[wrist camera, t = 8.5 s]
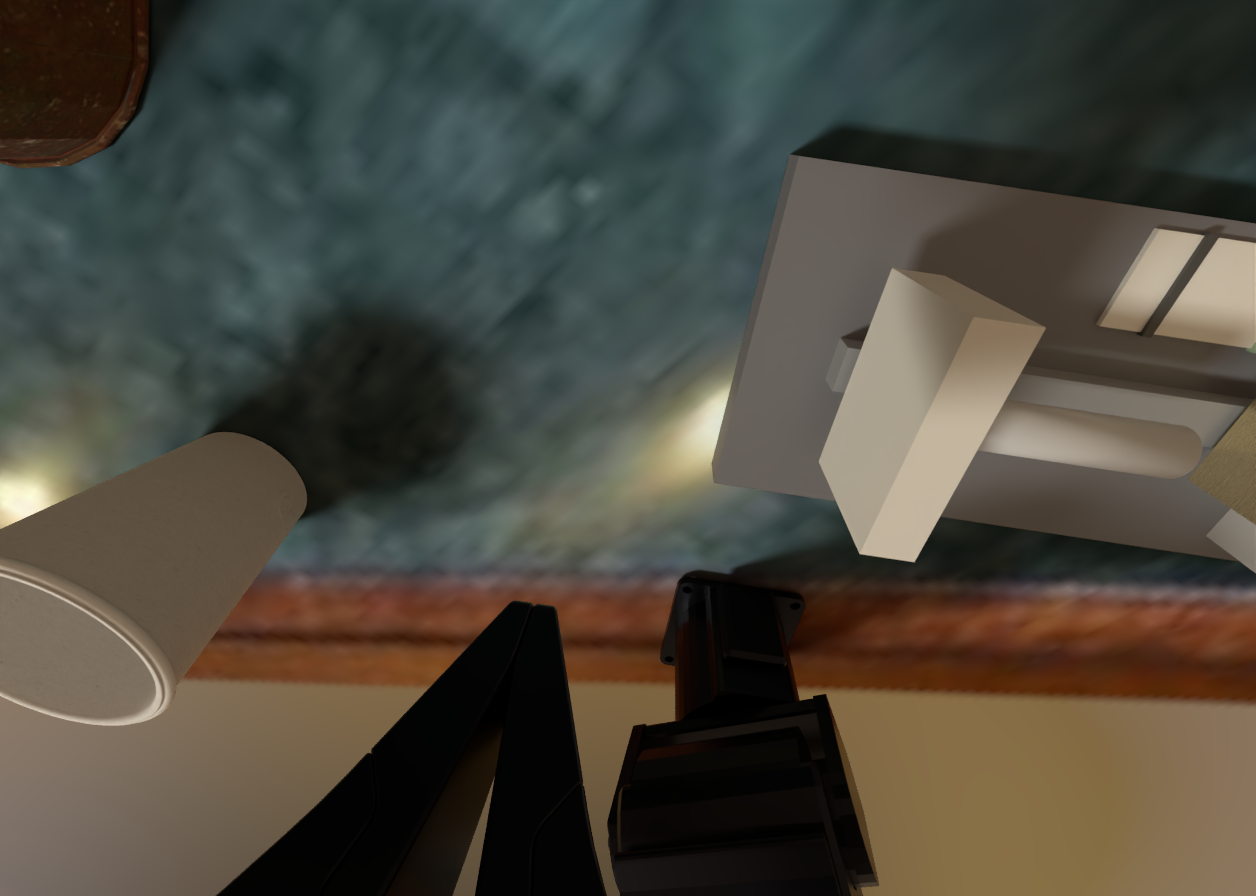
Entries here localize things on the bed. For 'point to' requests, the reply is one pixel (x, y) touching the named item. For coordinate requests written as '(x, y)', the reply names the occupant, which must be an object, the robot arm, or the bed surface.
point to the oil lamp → (68, 77)
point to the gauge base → (1059, 365)
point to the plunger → (959, 414)
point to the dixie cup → (138, 577)
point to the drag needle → (1233, 467)
